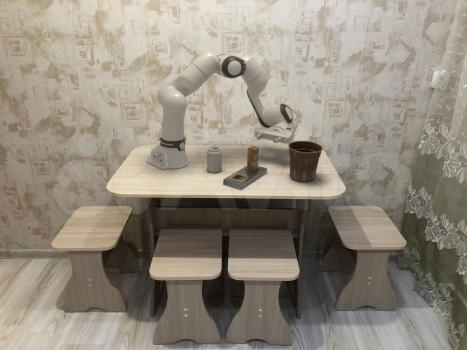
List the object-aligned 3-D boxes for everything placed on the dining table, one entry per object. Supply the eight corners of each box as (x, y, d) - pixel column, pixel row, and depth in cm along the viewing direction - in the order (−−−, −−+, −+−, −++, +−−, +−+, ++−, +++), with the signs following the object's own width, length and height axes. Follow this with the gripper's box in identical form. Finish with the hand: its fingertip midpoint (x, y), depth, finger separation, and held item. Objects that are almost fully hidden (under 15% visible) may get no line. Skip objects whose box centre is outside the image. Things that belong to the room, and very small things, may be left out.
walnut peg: (246, 174, 194) (247, 147, 189) (250, 172, 197) (251, 145, 192) (253, 176, 192) (254, 149, 187) (257, 173, 195) (259, 147, 190)
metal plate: (223, 184, 183) (223, 179, 182) (249, 168, 202) (250, 163, 201) (241, 189, 178) (241, 184, 177) (266, 172, 197) (267, 167, 196)
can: (223, 168, 201) (224, 146, 196) (218, 174, 194) (218, 151, 189) (210, 166, 203) (210, 144, 198) (204, 172, 196) (204, 149, 191)
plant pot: (324, 183, 186) (328, 151, 180) (291, 185, 184) (293, 153, 177) (312, 170, 201) (316, 140, 194) (282, 171, 199) (284, 141, 192)
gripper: (261, 123, 213) (248, 130, 202) (296, 130, 203) (284, 137, 192) (261, 134, 215) (248, 141, 205) (295, 141, 205) (283, 149, 195)
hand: (266, 139), depth 198 cm, fingers open, 8 cm apart
